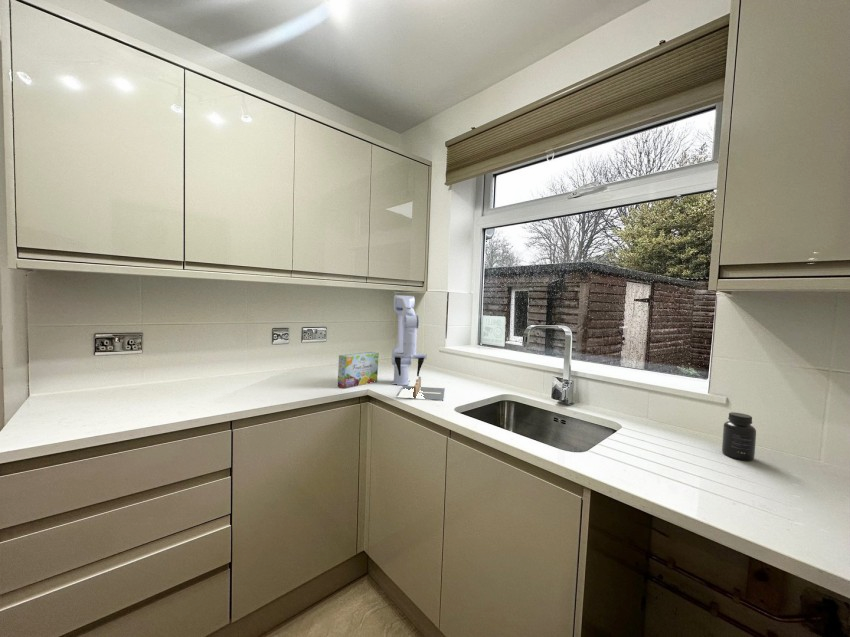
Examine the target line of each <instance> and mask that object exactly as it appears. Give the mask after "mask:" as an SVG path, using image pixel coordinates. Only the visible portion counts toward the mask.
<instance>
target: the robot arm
mask: <svg viewBox="0 0 850 637" xmlns="http://www.w3.org/2000/svg"><path fill="white" fill-rule="evenodd" d="M415 302H416V301H415V296H414V295H398V294H395V295H394V296H393V312H394V313H396V314H397V318H398V320H397V321H398V322H397V324H398V325H397V346H395V347H394V348H393V349H392V351H391V364H392V366H394V368H393V382H392V383H391V385H392V384H397V385H396V386H409V384H410V383H411V380H409V371H410V370H409V369H410V366H411V365H412V364H413V360H415V359H416V360H417V371H416V377H420V370H421V368H422V366H423V364H424V362H425V360H427V354H424V353H417V346H418V345H417V342H418V340H417V339H418V336H417V335H418V328H419V325H420V320H419V318H420V317H419V315H416V312H415V309H414V308H415ZM409 382H410V383H409Z"/></svg>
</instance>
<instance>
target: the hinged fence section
mask: <svg viewBox="0 0 850 637" xmlns="http://www.w3.org/2000/svg"><path fill="white" fill-rule="evenodd" d="M418 385H419V382H416V381H415V383H414V392H413V397H414V398H416V396H417V394H418Z"/></svg>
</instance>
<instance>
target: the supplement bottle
mask: <svg viewBox="0 0 850 637" xmlns="http://www.w3.org/2000/svg"><path fill="white" fill-rule="evenodd" d="M727 418H728V420H727V421H725V422H724V423H723V426H722V427H723V430H722V431H723V432H722V445H721V452H722V454H723V455H725V456H726V457H728V458H731V459H734V460H737V461H743V462H752V461H754V460H755V457H756V456H755V455H756V454H755V453H756V441H757V440H756V439H757V429H756V428H755V427H754V426H753V425H752V424H753V416H751V415H749V414H746V413H741V412H734V411H731V412H729V413H728V417H727Z"/></svg>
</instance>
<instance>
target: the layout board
mask: <svg viewBox="0 0 850 637" xmlns="http://www.w3.org/2000/svg"><path fill="white" fill-rule="evenodd" d="M416 382H419V385H418V392H419V391H420V390H421V391H423V392H419V393H422V394H423V395H424V396H423V397H424V398H425V399H432V400H431V401H438V400H442V402H443V401H444V397H445V387H443V388H442V387H431V386H428V387H427V386H422V377H421V376H418V379H417V378H416V379H415V383H416ZM402 387H403V389H405V388H406V389H408V390H410V389H411V388H412V389H413V388H414V386H410V385H402ZM421 396H422V395H421Z"/></svg>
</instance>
